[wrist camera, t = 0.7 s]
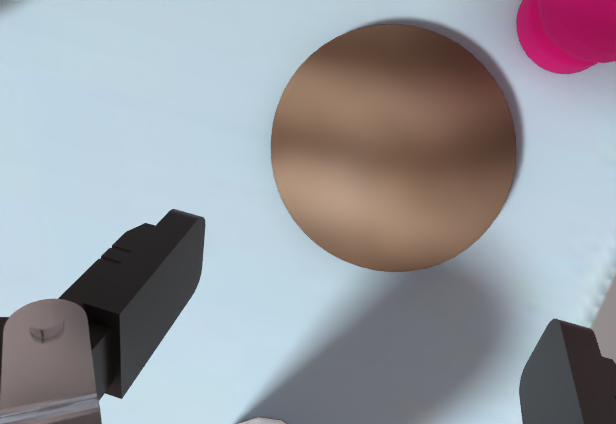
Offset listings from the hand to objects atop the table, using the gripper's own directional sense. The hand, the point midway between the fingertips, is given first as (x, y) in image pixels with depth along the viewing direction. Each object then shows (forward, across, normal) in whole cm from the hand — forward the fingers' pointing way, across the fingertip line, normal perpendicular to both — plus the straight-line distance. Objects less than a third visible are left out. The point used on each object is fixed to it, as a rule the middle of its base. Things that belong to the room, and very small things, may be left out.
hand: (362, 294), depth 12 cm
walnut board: (+22, 0, +6) cm, 22 cm away
